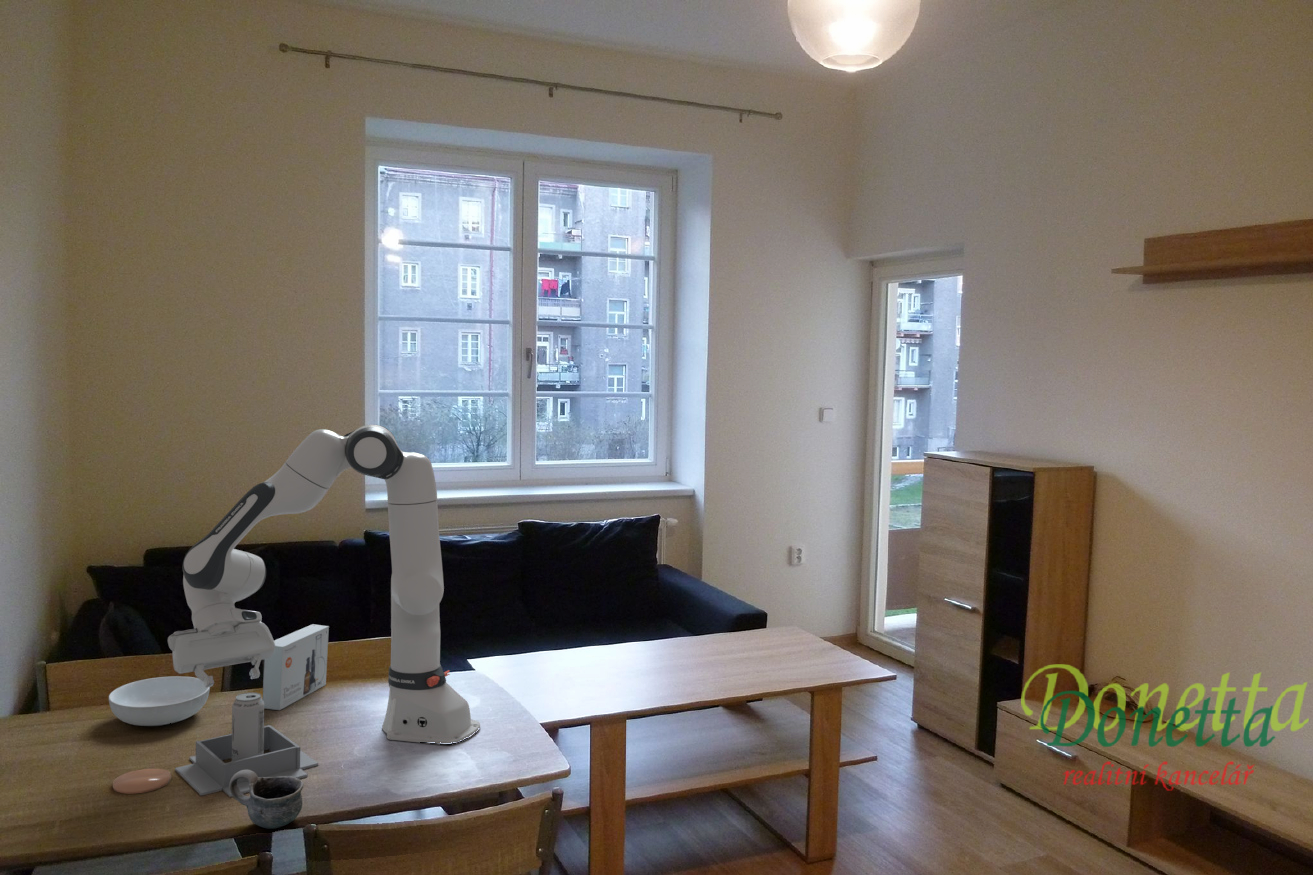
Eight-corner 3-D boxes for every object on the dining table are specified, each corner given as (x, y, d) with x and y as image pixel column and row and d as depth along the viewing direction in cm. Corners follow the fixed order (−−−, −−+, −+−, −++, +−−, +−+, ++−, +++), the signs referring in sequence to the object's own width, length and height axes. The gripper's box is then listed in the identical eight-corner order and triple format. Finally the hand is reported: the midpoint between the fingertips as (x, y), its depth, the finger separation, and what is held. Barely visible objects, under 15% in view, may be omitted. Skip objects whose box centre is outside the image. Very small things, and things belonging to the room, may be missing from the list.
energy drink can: (232, 763, 199) (233, 692, 198) (263, 760, 201) (264, 690, 200) (230, 775, 193) (231, 702, 192) (263, 772, 195) (263, 699, 194)
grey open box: (281, 738, 213) (281, 716, 213) (326, 771, 197) (327, 747, 196) (168, 764, 198) (168, 740, 197) (208, 803, 181) (208, 777, 180)
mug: (301, 833, 170) (302, 778, 170) (225, 841, 167) (225, 785, 166) (304, 809, 180) (305, 757, 179) (231, 816, 176) (232, 763, 175)
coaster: (182, 777, 191) (182, 773, 191) (139, 797, 182) (139, 793, 182) (144, 769, 195) (144, 765, 195) (100, 788, 185) (100, 784, 185)
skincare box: (281, 711, 230) (282, 646, 229) (261, 709, 231) (261, 644, 230) (328, 684, 251) (329, 624, 250) (309, 682, 252) (310, 623, 251)
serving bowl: (86, 726, 216) (86, 696, 216) (164, 699, 236) (164, 671, 235) (155, 742, 209) (156, 711, 208) (230, 712, 228) (230, 683, 228)
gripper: (169, 625, 200) (184, 683, 193) (267, 611, 214) (284, 665, 207) (162, 641, 203) (176, 699, 197) (259, 626, 217) (276, 680, 211)
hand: (233, 681), depth 202 cm, fingers open, 8 cm apart
